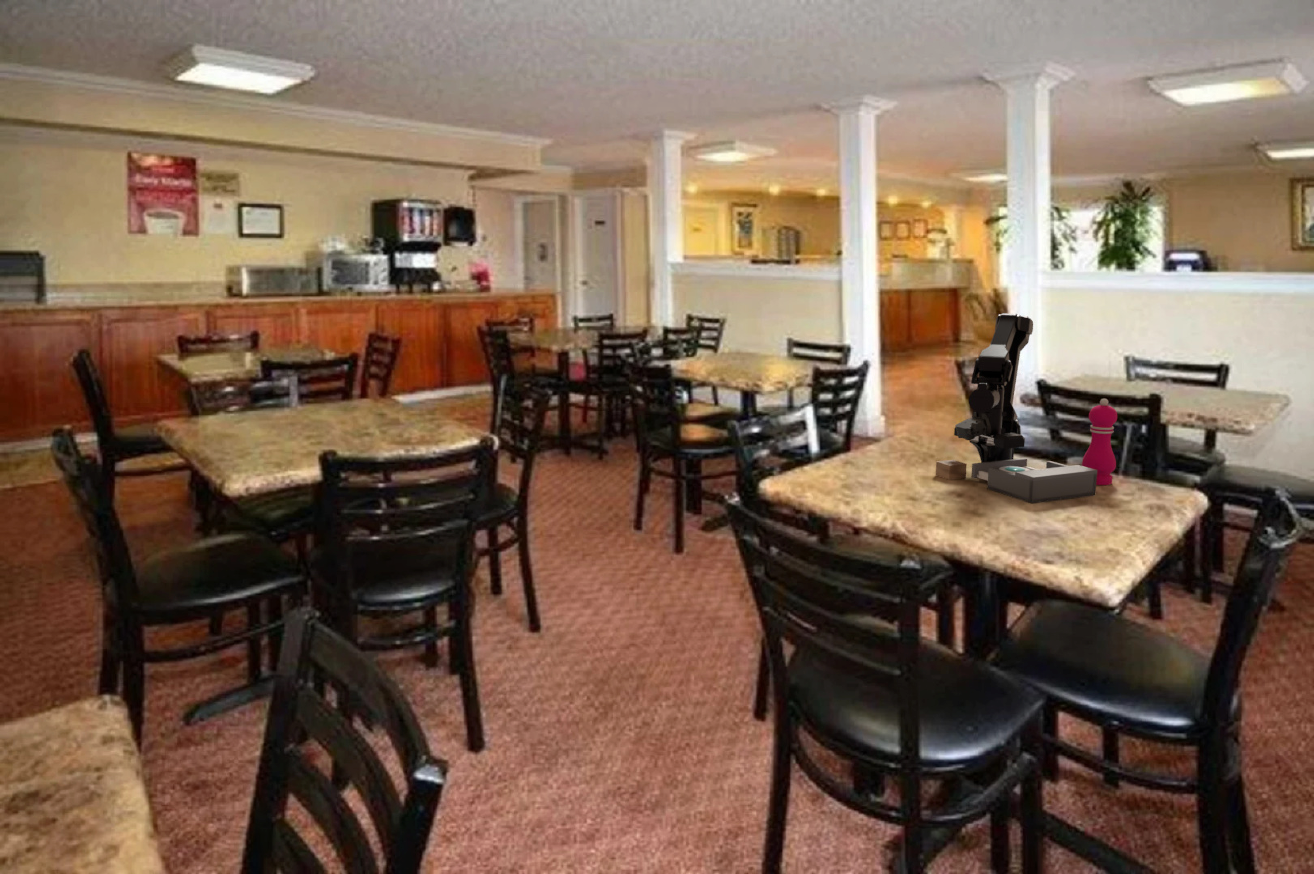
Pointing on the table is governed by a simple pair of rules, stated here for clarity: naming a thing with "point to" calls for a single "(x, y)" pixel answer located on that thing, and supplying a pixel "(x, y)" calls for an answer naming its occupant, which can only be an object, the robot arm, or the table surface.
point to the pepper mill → (1101, 443)
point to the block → (951, 469)
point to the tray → (982, 468)
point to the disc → (1013, 469)
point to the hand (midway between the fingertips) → (986, 470)
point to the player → (1045, 482)
